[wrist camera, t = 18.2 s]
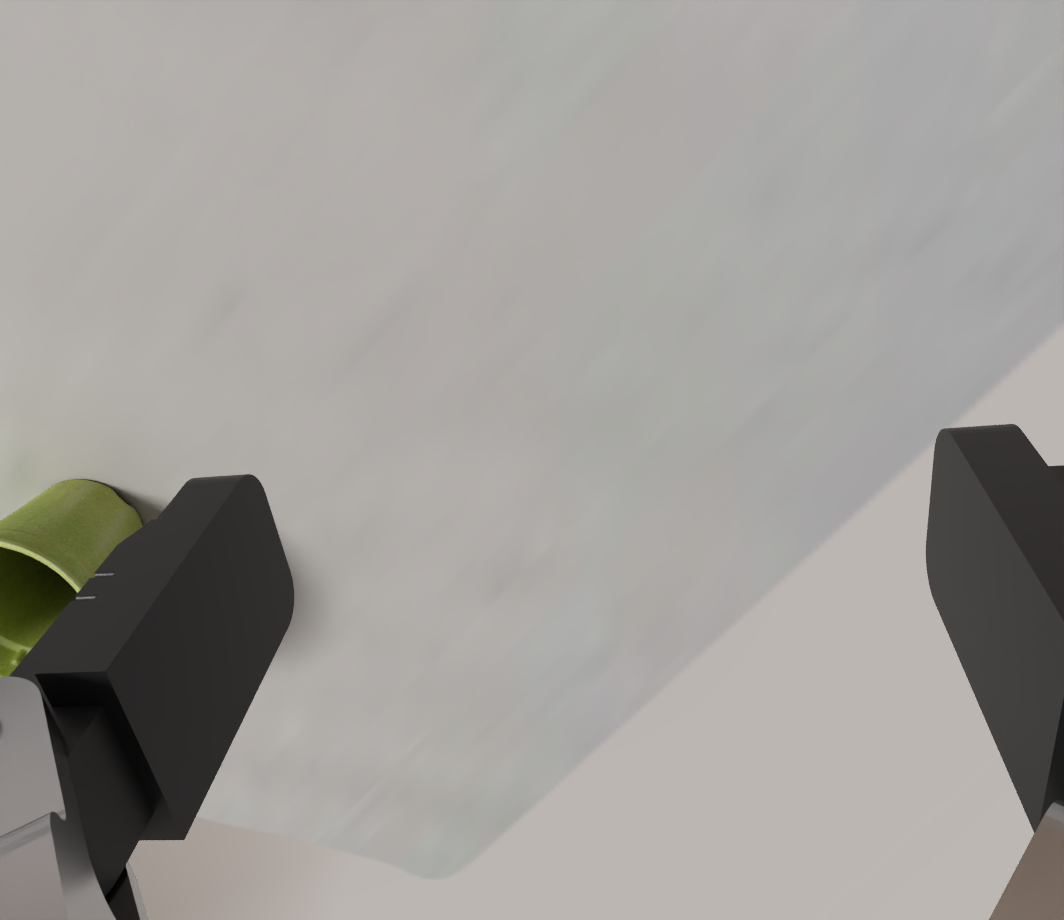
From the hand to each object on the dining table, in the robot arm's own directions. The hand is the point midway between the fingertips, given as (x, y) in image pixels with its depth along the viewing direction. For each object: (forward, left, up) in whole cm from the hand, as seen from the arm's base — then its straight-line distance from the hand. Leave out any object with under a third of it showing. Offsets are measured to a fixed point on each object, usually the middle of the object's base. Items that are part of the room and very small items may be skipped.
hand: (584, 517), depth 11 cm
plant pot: (+32, +20, -33) cm, 50 cm away
